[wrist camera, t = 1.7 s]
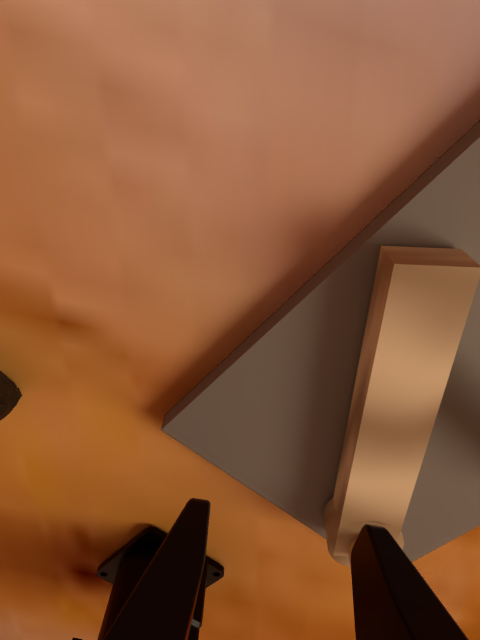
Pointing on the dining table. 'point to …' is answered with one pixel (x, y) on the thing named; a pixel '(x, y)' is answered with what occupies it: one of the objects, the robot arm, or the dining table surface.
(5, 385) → the hand tool
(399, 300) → the birch latch bar
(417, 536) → the keeper baseplate
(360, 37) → the dining table surface
